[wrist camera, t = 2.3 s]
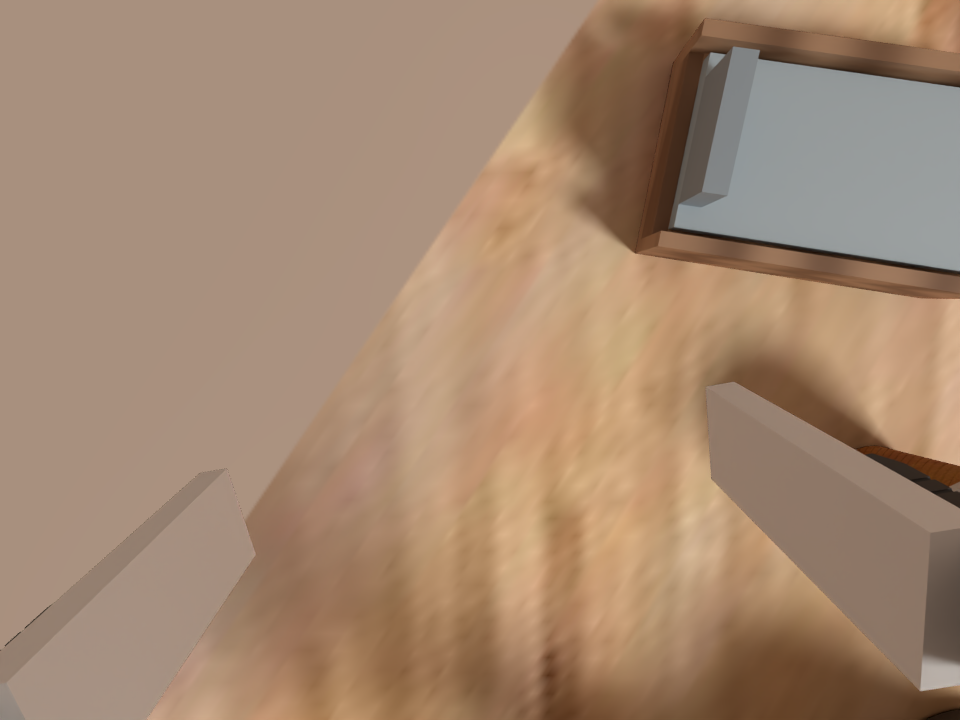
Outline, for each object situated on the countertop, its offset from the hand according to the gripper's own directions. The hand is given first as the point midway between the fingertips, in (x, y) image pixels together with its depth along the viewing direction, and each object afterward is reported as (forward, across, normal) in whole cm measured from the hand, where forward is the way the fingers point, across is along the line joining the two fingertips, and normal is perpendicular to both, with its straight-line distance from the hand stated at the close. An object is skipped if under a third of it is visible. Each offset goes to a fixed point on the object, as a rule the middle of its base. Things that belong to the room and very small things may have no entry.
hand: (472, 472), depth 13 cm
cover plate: (+23, -26, -6) cm, 35 cm away
